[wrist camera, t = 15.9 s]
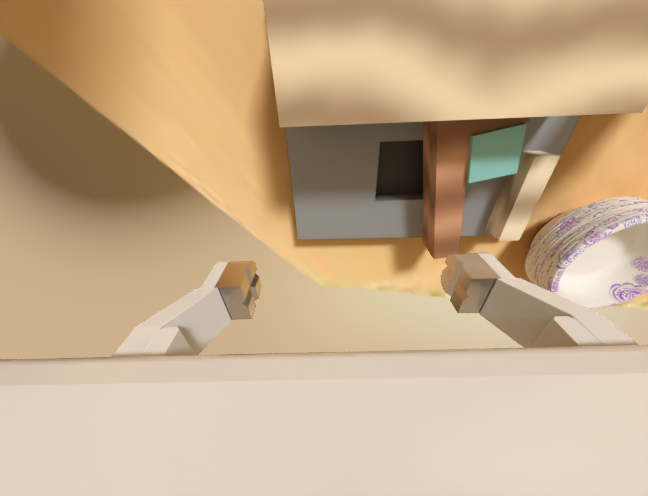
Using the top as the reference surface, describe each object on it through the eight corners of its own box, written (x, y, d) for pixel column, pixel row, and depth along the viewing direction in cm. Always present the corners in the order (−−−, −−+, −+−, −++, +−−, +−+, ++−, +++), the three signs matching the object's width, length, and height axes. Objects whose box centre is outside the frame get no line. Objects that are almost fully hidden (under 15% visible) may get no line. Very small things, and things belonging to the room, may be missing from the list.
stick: (515, 151, 26) (535, 156, 23) (538, 150, 26) (560, 155, 23) (484, 229, 31) (498, 240, 29) (503, 229, 31) (519, 240, 29)
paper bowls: (584, 277, 39) (637, 315, 32) (493, 274, 39) (527, 310, 32) (658, 189, 30) (750, 214, 24) (542, 184, 30) (602, 208, 24)
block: (451, 130, 25) (473, 136, 21) (496, 119, 24) (527, 123, 21) (449, 171, 27) (468, 183, 24) (490, 162, 27) (516, 173, 23)
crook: (423, 116, 24) (437, 119, 21) (505, 96, 23) (534, 95, 20) (423, 242, 33) (433, 259, 29) (483, 232, 32) (501, 248, 28)
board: (272, -20, 21) (266, -33, 19) (630, -44, 20) (666, -61, 18) (299, 231, 35) (297, 239, 33) (509, 226, 34) (521, 235, 32)
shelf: (278, -34, 19) (249, -107, 12) (625, -58, 18) (805, -154, 11) (293, 119, 25) (279, 127, 18) (553, 108, 24) (642, 112, 17)
